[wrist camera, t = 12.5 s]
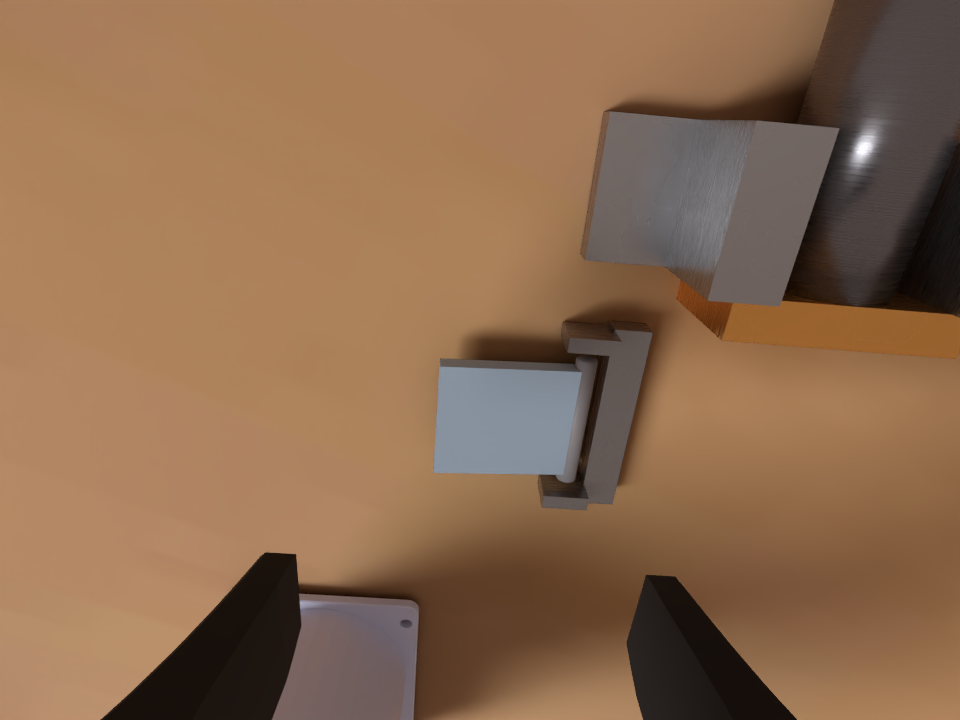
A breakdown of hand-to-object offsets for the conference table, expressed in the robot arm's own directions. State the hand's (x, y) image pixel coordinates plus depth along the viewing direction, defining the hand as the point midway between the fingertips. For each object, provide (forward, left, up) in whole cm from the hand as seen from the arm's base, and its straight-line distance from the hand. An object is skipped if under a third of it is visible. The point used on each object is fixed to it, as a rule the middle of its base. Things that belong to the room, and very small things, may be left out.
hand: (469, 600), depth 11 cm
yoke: (+8, -10, -8) cm, 15 cm away
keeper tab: (0, -4, -8) cm, 8 cm away
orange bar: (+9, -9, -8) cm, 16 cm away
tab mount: (0, -5, -8) cm, 10 cm away
